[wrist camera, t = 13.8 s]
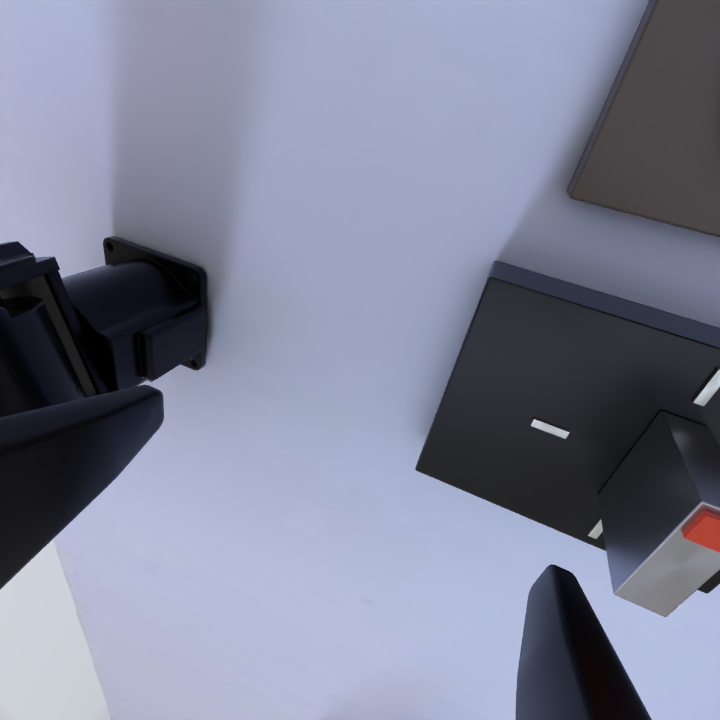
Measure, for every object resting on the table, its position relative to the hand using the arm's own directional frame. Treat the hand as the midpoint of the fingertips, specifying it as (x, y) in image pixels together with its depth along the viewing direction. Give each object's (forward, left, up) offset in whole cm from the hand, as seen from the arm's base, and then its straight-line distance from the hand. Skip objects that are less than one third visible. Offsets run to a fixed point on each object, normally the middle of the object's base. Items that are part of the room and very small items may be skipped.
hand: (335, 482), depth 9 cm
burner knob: (+10, -2, -9) cm, 13 cm away
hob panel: (+8, -2, -12) cm, 14 cm away
